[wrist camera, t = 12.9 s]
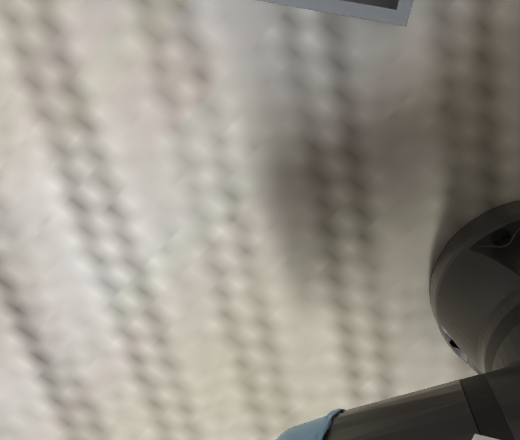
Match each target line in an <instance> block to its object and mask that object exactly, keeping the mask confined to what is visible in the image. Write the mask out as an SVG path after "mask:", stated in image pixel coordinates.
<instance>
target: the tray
mask: <svg viewBox="0 0 520 440" xmlns="http://www.w3.org/2000/svg"><path fill="white" fill-rule="evenodd" d="M259 1H264V2H270V3H276V4H281V5H287V6H293V7H298V8H304V9H310V10H315V11H321V12H327V13H332V14H338V15H344V16H349V17H355V18H361V19H367V20H372V21H378V22H384V23H389V24H395V25H401V26H406V25H407V22H408V18H409V14H410V10H411V7H412V3H413V0H259Z"/></svg>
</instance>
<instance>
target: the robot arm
mask: <svg viewBox="0 0 520 440" xmlns="http://www.w3.org/2000/svg"><path fill="white" fill-rule="evenodd" d="M430 302H431V307H432V311H433V313H434V316H435V319H436V321H437V324H438V327H439V329H440V331H441V333H442V335H443V337H444V339H445V340H446V342H447V343H448V345H449V346H450V347H451V348H452V350H453V351H454V352H455V353H456V354H457V355H458V356H459V357H460V358H462V359H463V360H464V361H465V362H467V363H468V364H469V365H470V367H471V368H472V369H473V370H474V371H476V372H477V373H478V374H479V375H476V376H472V377H469V378H465V379H460V380H456V381H453V382H449V383H445V384H442V385H438V386H434V387H431V388H427V389H423V390H419V391H416V392H412V393H408V394H405V395H401V396H397V397H394V398H390V399H386V400H383V401H379V402H375V403H371V404H368V405H364V406H360V407H357V408H353V409H349V410H345V409H336V410H333V411H331V412H330V413H329V414H328V415H327V416H325V417H322V418H319V419H316V420H313V421H310V422H307V423H304V424H301V425H298V426H295V427H292V428H290V429H288V430H287V431H285V432H284V433H282V434H281V435H280V436H279V437H278V438H277V439H276V440H520V201H516V202H512V203H509V204H506V205H503V206H500V207H497V208H495V209H493V210H491V211H488V212H486V213H485V214H483V215H481V216H479V217H478V218H476V219H474V220H473V221H472V222H470V223H469V224H467V225H466V226H465V227H464V228H462V229H461V230H460V231H459V232H458V233H457V234H456V235H455V236H454V237H453V238H452V239H451V240H450V242H449V243H448V244H447V245H446V247H445V248H444V250H443V251H442V253H441V255H440V256H439V258H438V260H437V262H436V265H435V267H434V270H433V273H432V277H431V282H430Z"/></svg>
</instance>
